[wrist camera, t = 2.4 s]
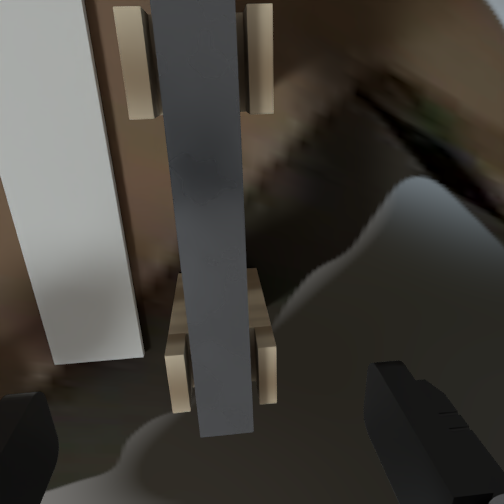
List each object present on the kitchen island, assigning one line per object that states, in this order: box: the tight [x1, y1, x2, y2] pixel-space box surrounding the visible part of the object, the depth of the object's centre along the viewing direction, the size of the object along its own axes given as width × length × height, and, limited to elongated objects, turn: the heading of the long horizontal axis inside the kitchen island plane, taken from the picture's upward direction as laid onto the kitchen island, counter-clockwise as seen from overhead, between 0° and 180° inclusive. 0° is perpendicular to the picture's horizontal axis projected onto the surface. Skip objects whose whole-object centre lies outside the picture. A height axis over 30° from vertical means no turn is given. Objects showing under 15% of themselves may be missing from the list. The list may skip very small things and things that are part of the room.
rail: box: [150, 0, 254, 437], centre depth 19 cm, size 22×3×3 cm, turn 2°
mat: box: [0, 0, 145, 365], centre depth 27 cm, size 26×7×1 cm, turn 2°
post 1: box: [113, 3, 274, 120], centre depth 20 cm, size 4×6×10 cm, turn 92°
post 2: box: [165, 268, 277, 413], centre depth 27 cm, size 4×6×10 cm, turn 92°
